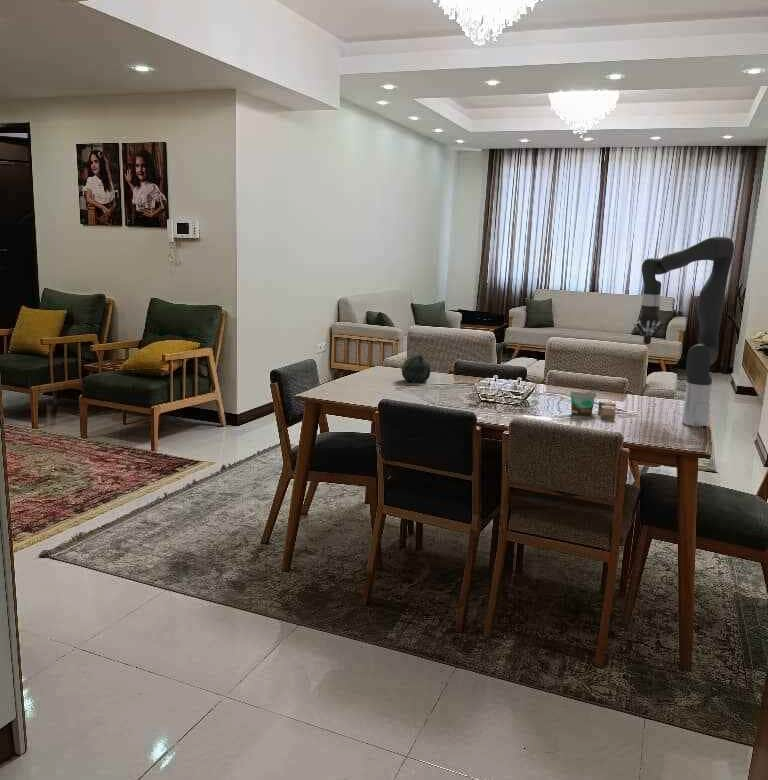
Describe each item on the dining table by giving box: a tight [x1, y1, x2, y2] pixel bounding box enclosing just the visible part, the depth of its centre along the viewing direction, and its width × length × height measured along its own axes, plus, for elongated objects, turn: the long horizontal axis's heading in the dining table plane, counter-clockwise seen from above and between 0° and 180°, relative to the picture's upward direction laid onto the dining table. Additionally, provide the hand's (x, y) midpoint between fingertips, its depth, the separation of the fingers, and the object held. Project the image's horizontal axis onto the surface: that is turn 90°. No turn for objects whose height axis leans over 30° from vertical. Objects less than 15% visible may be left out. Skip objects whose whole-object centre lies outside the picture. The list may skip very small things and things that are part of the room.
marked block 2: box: [599, 405, 616, 421], centre depth 296 cm, size 5×5×5 cm
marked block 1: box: [597, 400, 617, 414], centre depth 304 cm, size 5×5×5 cm
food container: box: [569, 389, 597, 417], centre depth 302 cm, size 12×6×10 cm, turn 114°
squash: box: [401, 354, 432, 383], centre depth 365 cm, size 14×15×15 cm
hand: (646, 344), depth 311 cm, fingers closed
